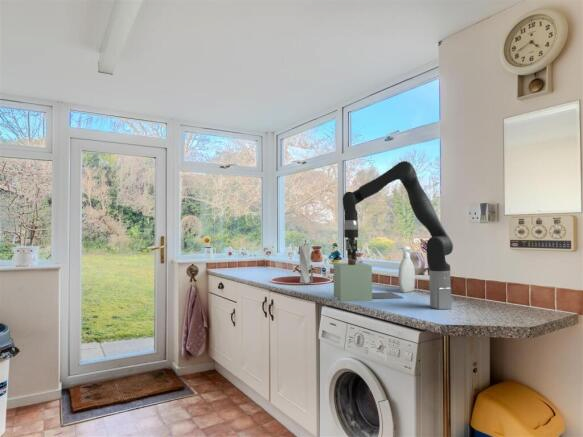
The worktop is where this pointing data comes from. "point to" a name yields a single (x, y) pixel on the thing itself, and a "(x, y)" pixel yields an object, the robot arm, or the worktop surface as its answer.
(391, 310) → the worktop surface
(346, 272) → the cover
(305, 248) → the white pillar candle
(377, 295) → the mat
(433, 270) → the robot arm
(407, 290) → the soap bottle
